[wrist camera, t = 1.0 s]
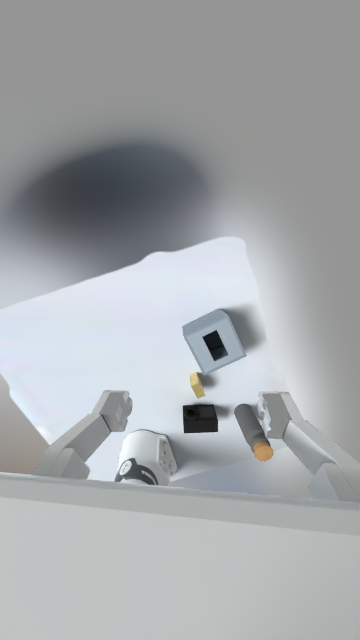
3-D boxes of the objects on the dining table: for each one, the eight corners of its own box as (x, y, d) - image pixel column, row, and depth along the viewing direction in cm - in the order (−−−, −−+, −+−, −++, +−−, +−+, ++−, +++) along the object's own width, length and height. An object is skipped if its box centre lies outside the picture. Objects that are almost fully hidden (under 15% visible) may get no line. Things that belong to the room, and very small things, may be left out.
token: (202, 383, 56) (205, 395, 51) (195, 386, 57) (197, 398, 51) (196, 372, 56) (198, 382, 50) (189, 375, 56) (191, 386, 50)
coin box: (234, 342, 54) (246, 355, 44) (199, 359, 55) (204, 375, 45) (218, 308, 51) (228, 314, 42) (182, 326, 52) (183, 336, 43)
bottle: (253, 405, 58) (278, 445, 44) (248, 419, 60) (272, 464, 45) (236, 402, 58) (256, 442, 43) (232, 417, 59) (250, 461, 45)
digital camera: (213, 401, 58) (218, 416, 51) (213, 415, 59) (218, 432, 52) (182, 402, 58) (183, 418, 51) (183, 416, 59) (183, 433, 52)
